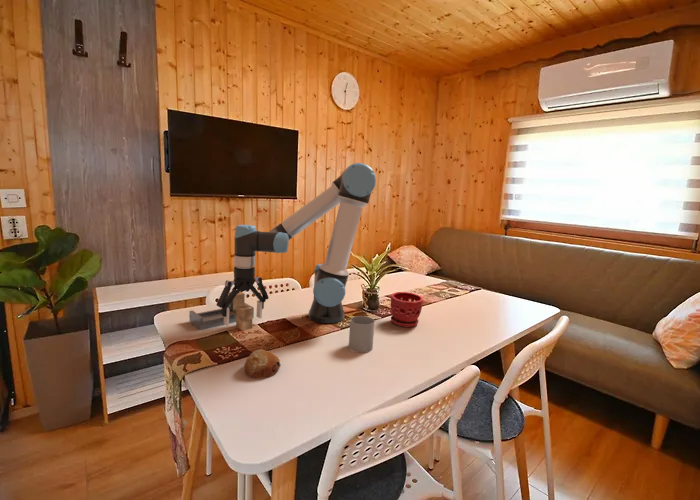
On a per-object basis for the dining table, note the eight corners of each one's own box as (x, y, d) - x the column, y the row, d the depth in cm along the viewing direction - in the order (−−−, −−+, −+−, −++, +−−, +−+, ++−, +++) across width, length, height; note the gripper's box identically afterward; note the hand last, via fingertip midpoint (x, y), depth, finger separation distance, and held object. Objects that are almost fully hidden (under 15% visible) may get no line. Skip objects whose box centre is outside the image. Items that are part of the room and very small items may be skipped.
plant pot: (382, 322, 152) (384, 295, 150) (400, 316, 162) (403, 290, 160) (409, 332, 143) (411, 303, 142) (426, 324, 153) (429, 297, 151)
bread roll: (254, 373, 113) (242, 351, 111) (284, 360, 113) (273, 338, 111) (247, 390, 103) (235, 366, 101) (281, 376, 103) (269, 352, 101)
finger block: (244, 323, 142) (244, 304, 141) (252, 328, 138) (252, 308, 137) (235, 326, 140) (235, 306, 138) (242, 330, 136) (242, 310, 134)
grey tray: (253, 317, 149) (253, 294, 148) (200, 330, 134) (199, 304, 132) (241, 311, 156) (241, 288, 155) (189, 322, 141) (189, 297, 139)
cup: (370, 354, 122) (372, 326, 120) (346, 350, 124) (348, 322, 122) (373, 344, 130) (375, 317, 129) (351, 341, 132) (353, 314, 130)
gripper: (268, 261, 146) (266, 311, 150) (207, 267, 129) (206, 324, 132) (278, 265, 141) (276, 317, 144) (216, 271, 124) (215, 330, 127)
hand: (243, 320), depth 138 cm, fingers open, 13 cm apart
